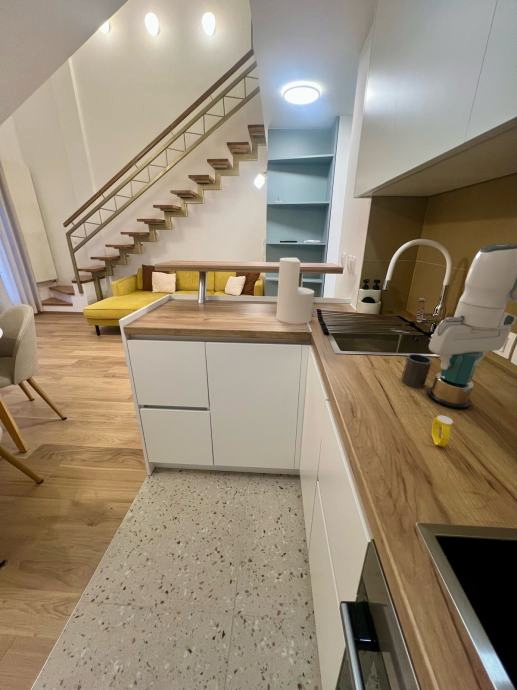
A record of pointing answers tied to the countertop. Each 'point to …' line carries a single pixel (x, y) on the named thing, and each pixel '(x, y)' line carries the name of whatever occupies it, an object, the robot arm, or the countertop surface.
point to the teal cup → (461, 368)
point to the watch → (446, 424)
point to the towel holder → (450, 393)
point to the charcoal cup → (416, 370)
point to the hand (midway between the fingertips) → (458, 366)
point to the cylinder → (293, 294)
